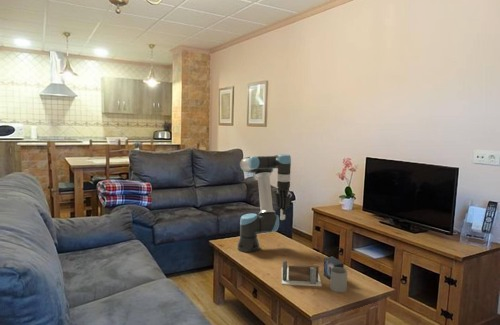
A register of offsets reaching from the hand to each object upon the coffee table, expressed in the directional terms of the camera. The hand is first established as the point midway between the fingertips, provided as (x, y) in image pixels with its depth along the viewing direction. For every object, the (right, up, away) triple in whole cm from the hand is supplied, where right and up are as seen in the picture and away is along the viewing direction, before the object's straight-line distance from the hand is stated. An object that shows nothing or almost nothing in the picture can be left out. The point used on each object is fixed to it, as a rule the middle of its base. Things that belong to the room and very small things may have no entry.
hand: (282, 219), depth 211 cm
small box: (+27, -31, -14) cm, 43 cm away
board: (+9, -30, -13) cm, 34 cm away
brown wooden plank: (+9, -30, -19) cm, 37 cm away
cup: (+27, -32, -26) cm, 49 cm away
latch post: (+14, -31, -22) cm, 41 cm away
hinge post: (-1, -31, -18) cm, 36 cm away
